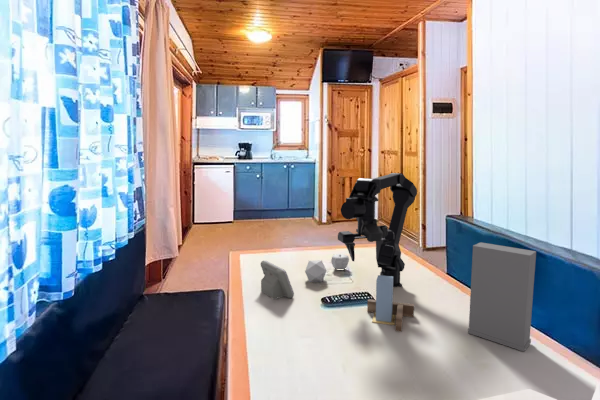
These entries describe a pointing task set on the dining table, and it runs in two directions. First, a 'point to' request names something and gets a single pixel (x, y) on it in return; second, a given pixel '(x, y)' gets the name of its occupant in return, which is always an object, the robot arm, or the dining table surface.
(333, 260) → the apple
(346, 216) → the robot arm
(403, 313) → the wooden t-shaped piece
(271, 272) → the digital clock
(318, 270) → the die
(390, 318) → the large blue square block
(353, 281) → the dining table surface
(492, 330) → the grey upright tombstone
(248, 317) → the dining table surface
